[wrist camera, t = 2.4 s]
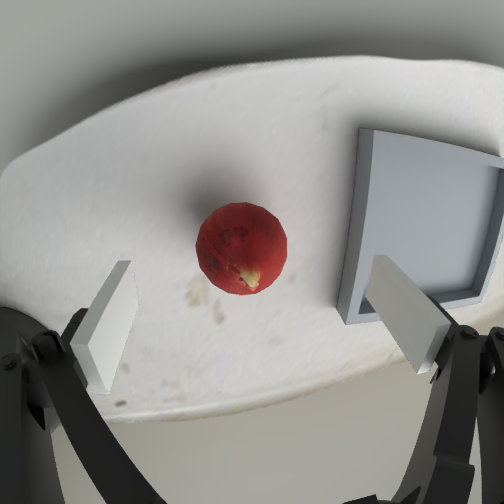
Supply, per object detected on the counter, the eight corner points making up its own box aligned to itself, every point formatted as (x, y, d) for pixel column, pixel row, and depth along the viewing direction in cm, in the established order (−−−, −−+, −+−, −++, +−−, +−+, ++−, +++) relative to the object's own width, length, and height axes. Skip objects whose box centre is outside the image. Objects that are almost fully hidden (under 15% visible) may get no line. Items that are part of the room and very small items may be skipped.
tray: (336, 308, 27) (345, 325, 25) (358, 127, 21) (374, 130, 19) (469, 291, 29) (481, 302, 27) (500, 157, 23) (517, 162, 20)
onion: (191, 253, 24) (182, 314, 16) (210, 182, 22) (206, 216, 14) (262, 269, 25) (281, 332, 18) (286, 202, 23) (318, 245, 16)
